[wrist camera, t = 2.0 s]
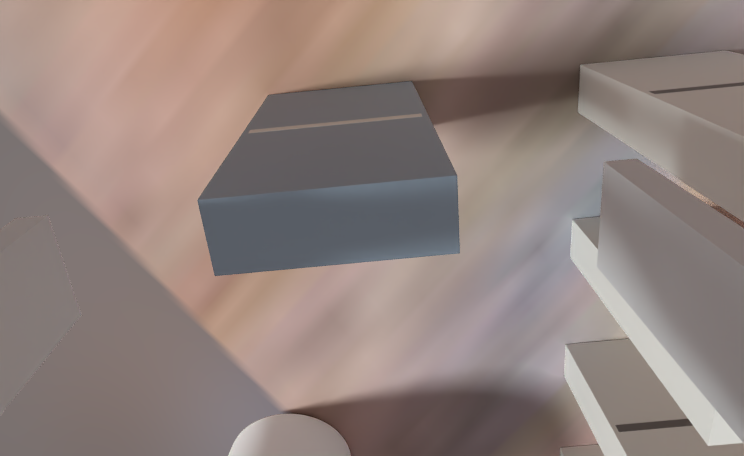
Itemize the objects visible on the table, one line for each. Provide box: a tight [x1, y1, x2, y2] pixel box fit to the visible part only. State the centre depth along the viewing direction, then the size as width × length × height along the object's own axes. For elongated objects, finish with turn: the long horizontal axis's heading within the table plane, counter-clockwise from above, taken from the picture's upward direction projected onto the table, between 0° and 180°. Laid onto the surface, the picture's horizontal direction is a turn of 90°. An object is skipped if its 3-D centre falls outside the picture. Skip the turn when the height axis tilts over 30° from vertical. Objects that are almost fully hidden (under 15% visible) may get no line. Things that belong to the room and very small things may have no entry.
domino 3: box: [564, 339, 744, 456], centre depth 25 cm, size 2×6×12 cm, turn 95°
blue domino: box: [198, 81, 460, 276], centre depth 19 cm, size 2×6×12 cm, turn 96°
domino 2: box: [570, 217, 743, 446], centre depth 22 cm, size 2×6×12 cm, turn 95°
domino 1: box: [578, 50, 744, 222], centre depth 19 cm, size 2×6×12 cm, turn 95°
